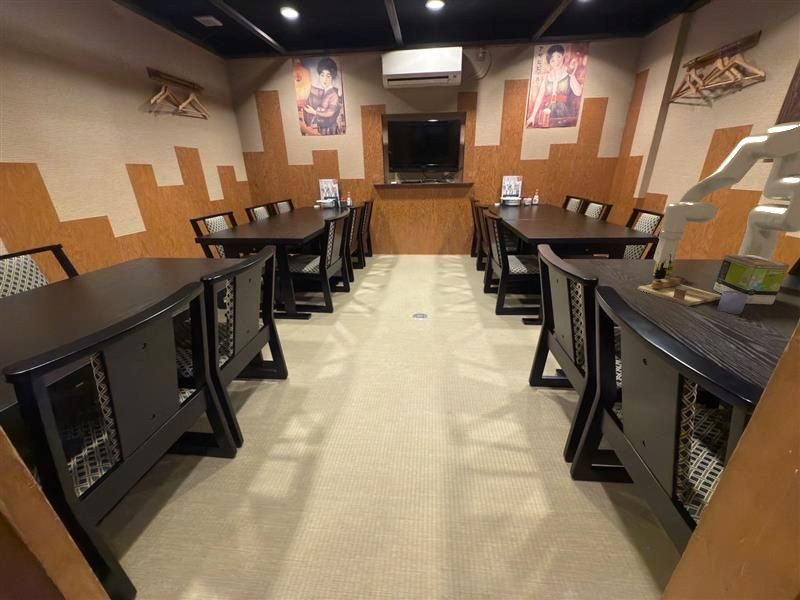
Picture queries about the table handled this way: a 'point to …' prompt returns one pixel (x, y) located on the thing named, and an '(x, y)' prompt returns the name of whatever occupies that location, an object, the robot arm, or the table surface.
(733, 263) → the tea box
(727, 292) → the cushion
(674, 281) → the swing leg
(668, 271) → the supplement bottle
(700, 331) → the table surface
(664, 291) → the board
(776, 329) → the table surface
